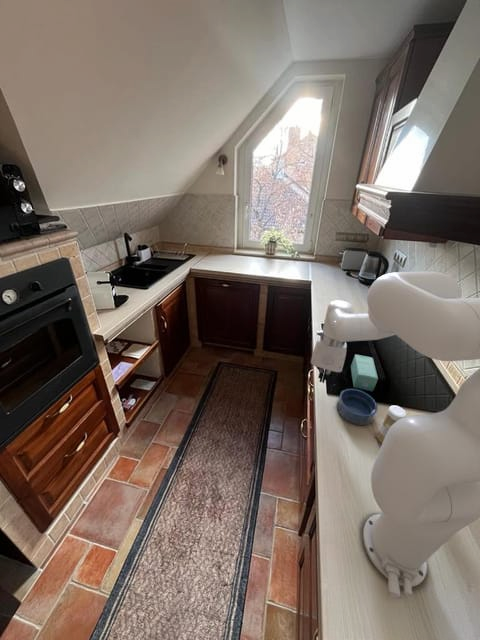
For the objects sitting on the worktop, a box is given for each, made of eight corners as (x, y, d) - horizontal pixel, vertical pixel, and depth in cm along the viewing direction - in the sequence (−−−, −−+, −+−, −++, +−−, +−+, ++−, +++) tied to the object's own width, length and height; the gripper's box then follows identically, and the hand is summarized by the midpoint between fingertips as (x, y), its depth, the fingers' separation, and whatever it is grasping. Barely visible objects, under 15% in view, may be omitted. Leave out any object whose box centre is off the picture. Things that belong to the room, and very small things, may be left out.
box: (353, 388, 101) (358, 374, 97) (350, 367, 112) (354, 353, 108) (373, 392, 99) (379, 378, 95) (367, 370, 110) (372, 357, 107)
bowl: (373, 431, 84) (378, 421, 82) (335, 418, 88) (338, 408, 86) (372, 404, 94) (376, 395, 91) (338, 394, 98) (341, 384, 95)
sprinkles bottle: (378, 430, 84) (392, 402, 77) (393, 439, 81) (408, 410, 75) (374, 439, 81) (387, 410, 74) (389, 448, 78) (404, 420, 72)
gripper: (307, 338, 81) (299, 380, 90) (357, 350, 76) (343, 393, 85) (311, 326, 87) (303, 367, 96) (358, 337, 82) (344, 379, 91)
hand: (322, 379), depth 91 cm, fingers closed
